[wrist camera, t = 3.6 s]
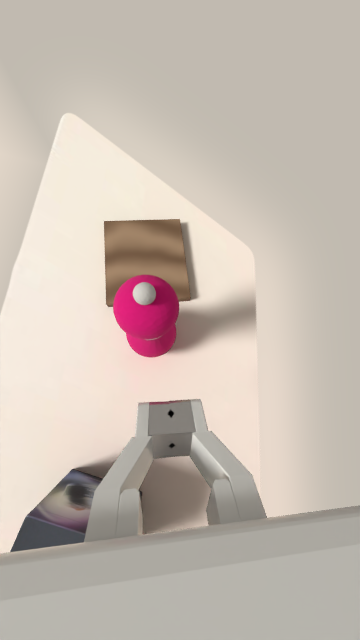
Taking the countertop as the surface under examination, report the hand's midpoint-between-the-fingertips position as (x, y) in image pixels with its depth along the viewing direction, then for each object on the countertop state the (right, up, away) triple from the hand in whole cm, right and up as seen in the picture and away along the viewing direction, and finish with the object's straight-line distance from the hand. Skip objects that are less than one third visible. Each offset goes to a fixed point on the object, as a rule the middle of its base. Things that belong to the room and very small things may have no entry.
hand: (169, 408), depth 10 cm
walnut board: (-6, +15, +28) cm, 32 cm away
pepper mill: (-4, +1, +25) cm, 25 cm away
